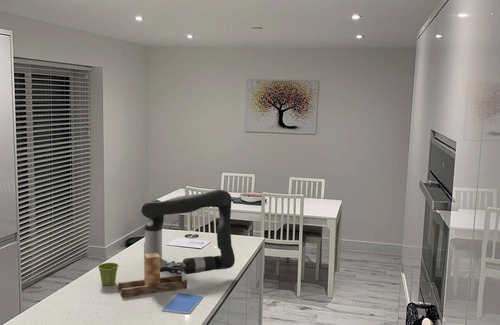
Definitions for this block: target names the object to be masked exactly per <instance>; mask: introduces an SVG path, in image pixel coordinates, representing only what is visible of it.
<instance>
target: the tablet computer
mask: <svg viewBox="0 0 500 325" xmlns="http://www.w3.org/2000/svg"><path fill="white" fill-rule="evenodd" d="M203 298H204V295H201V294H200V295H199V294H194V293H183V292H177V293H176V294H175V295H173V297H172V298H171V299H170V300H169V301H168V302H167V303H166V304H165V305H164V306H163V307H161V311H162V312H167V313H175V314H181V315H189V314H191V312H192V311H193V310H194V309H195V308H196V307H197V306H198V304H199V303H200V302H201V300H202V299H203Z"/></svg>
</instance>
